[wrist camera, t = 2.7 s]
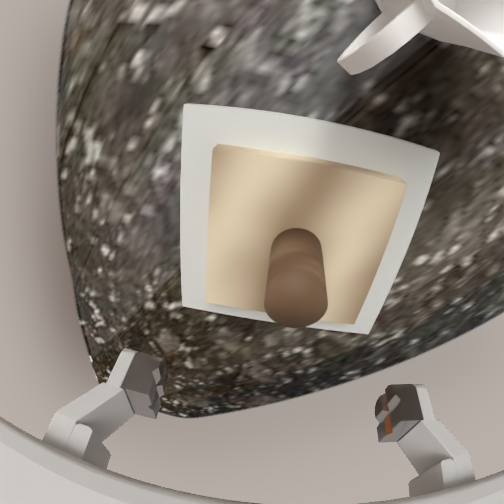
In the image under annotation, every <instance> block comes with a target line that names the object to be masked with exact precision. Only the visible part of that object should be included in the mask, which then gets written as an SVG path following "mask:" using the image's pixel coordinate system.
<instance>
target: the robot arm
mask: <svg viewBox="0 0 504 504" xmlns="http://www.w3.org/2000/svg"><path fill="white" fill-rule="evenodd" d="M165 365H166V362H165V358H161V357H157V356H153V355H149V354H145V353H141V352H138V351H134V350H130V349H126V348H124V349H123V351H122V352H121V353H120V355H119V358H118V360H117V362H116V364H115V366H114V368H113V370H112V372H111V374H110V376H109V379H108V381H107V383H101V384H99V385H98V386H96V387H95V388H93V389H92V390H90V391H88V392H87V393H85V394H84V395H82V396H81V397H79V398H77V399H76V400H74V401H72V402H71V403H69V404H68V405H66V406H64V407H63V408H61V409H60V410H58V411H56V413H55V415H54V417H53V419H52V421H51V423H50V425H49V427H48V429H47V431H46V433H45V436H44V438H43V440H40V439H38V438H36V437H34V436H32V435H30V434H29V433H26V432H25V431H23V430H22V429H20V428H18V427H16V426H15V425H13V424H11V423H10V422H8V421H6V420H5V419H3V418H2V417H0V504H259V503H249V502H240V501H232V500H225V499H218V498H212V497H206V496H201V495H196V494H191V493H186V492H182V491H177V490H173V489H169V488H165V487H161V486H157V485H154V484H150V483H146V482H143V481H140V480H136V479H133V478H130V477H127V476H124V475H121V474H118V473H115V472H112V471H109V470H107V465H108V462H109V459H110V456H111V455H110V453H109V451H108V450H107V449H106V447H105V446H104V445H103V444H102V441H104V440H105V439H106V438H107V437H108V436H110V435H111V434H112V433H113V432H115V431H116V430H117V429H118V428H119V427H121V426H122V425H123V424H124V423H125V422H127V421H128V420H129V419H130V418H131V417H132V416H133V415H134V414H138V415H142V416H145V417H149V418H154V419H156V418H157V414H158V411H159V408H160V405H161V403H160V399H159V397H161V396H162V395H164V393H165V390H166V386H167V379H168V374H167V371H166V370H165V369H164V368H165ZM385 392H386V393H385V394H383V395H381V396H380V397H379V398H378V400H377V402H376V406H375V416H376V419H377V420H378V421H379V422H380V424H379V425H378V427H377V432H378V439H379V442H397V443H398V444H399V446H400V447H401V449H402V450H403V452H404V453H405V454H406V456H407V458H408V459H409V460H410V462H411V464H412V465H413V466H414V468H415V469H416V471H417V472H418V474H419V476H418V477H416V478H414V479H413V480H411V481H410V482H409V493H410V497H407V498H401V499H394V500H387V501H380V502H371V503H361V504H504V470H503V471H501V472H498V473H495V474H493V475H490V476H487V477H484V478H481V479H479V480H475V475H474V470H473V465H472V461H471V456H470V453H469V452H468V451H467V450H466V449H465V448H464V447H463V445H462V444H461V443H460V442H459V441H458V440H457V439H456V438H455V437H454V436H453V435H452V434H451V432H450V431H449V430H448V429H447V428H446V427H445V426H444V425H443V424H442V423H441V422H440V421H439V420H438V419H435V417H434V414H433V409H432V406H431V402H430V398H429V395H428V391H427V388H426V386H425V385H424V384H414V385H412V384H401V385H389V386H388V387H387V388H386V389H385Z"/></svg>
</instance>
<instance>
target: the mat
mask: <svg viewBox="0 0 504 504" xmlns="http://www.w3.org/2000/svg"><path fill="white" fill-rule="evenodd" d="M217 144H225V145H234V146H242V147H249V148H257V149H264V150H271V151H277V152H284V153H290V154H296V155H301V156H307V157H313V158H318V159H323V160H328V161H333V162H338V163H343V164H348V165H353V166H357V167H362V168H366V169H370V170H375V171H379V172H383V173H387V174H391V175H395V176H399V177H401V178H402V179H403V180H404V181H405V182H406V183H407V188H406V192H405V195H404V198H403V201H402V204H401V207H400V210H399V213H398V216H397V219H396V222H395V225H394V228H393V231H392V233H391V236H390V239H389V242H388V244H387V247H386V250H385V252H384V255H383V258H382V260H381V263H380V265H379V268H378V270H377V273H376V275H375V278H374V280H373V283H372V285H371V288H370V290H369V292H368V295H367V297H366V299H365V302H364V304H363V306H362V308H361V311H360V313H359V315H358V317H357V320H356V322H355V324H354V325H353V324H345V323H337V322H329V321H321V320H319V321H317V322H316V323H314V324H312V325H309V326H306V327H311V328H318V329H326V330H334V331H343V332H351V333H361V334H369V332H370V330H371V328H372V326H373V324H374V322H375V320H376V318H377V316H378V314H379V312H380V310H381V308H382V306H383V304H384V301H385V299H386V297H387V295H388V293H389V291H390V289H391V286H392V284H393V282H394V280H395V277H396V275H397V273H398V271H399V268H400V266H401V264H402V261H403V259H404V256H405V254H406V252H407V249H408V247H409V244H410V242H411V239H412V236H413V234H414V231H415V229H416V226H417V223H418V220H419V218H420V215H421V212H422V209H423V206H424V204H425V201H426V198H427V195H428V192H429V189H430V185H431V182H432V179H433V176H434V173H435V169H436V166H437V162H438V159H439V155H440V152H438V151H437V150H434V149H431V148H428V147H425V146H422V145H419V144H415V143H412V142H409V141H405V140H402V139H398V138H395V137H391V136H388V135H384V134H380V133H376V132H373V131H369V130H365V129H360V128H356V127H352V126H347V125H343V124H338V123H334V122H329V121H324V120H319V119H313V118H308V117H302V116H296V115H290V114H284V113H277V112H270V111H263V110H255V109H247V108H238V107H228V106H216V105H203V104H184V110H183V127H182V150H181V187H180V249H181V286H182V306H184V307H189V308H194V309H199V310H205V311H210V312H216V313H221V314H227V315H232V316H238V317H244V318H250V319H256V320H263V321H269V322H275V321H273V320H272V319H271V318H270V317H269V316H268V315H267V313H266V312H260V311H254V310H248V309H242V308H236V307H230V306H224V305H219V304H213V303H208V302H205V295H206V261H207V235H208V214H209V196H210V179H211V164H212V150H213V148H214V147H215V146H216V145H217ZM275 323H276V322H275Z"/></svg>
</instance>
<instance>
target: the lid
mask: <svg viewBox="0 0 504 504" xmlns="http://www.w3.org/2000/svg"><path fill="white" fill-rule="evenodd" d="M406 188H407V183H406V182H405V181H404V180H403V179H402V178H401V177H399V176H395V175H391V174H387V173H383V172H379V171H375V170H370V169H366V168H362V167H357V166H353V165H348V164H343V163H338V162H333V161H328V160H323V159H318V158H313V157H307V156H301V155H296V154H290V153H284V152H277V151H271V150H264V149H257V148H249V147H242V146H234V145H225V144H217V145H216V146H215V147H214V148H213V150H212V164H211V179H210V196H209V214H208V235H207V261H206V295H205V302H208V303H213V304H219V305H224V306H230V307H236V308H242V309H248V310H254V311H260V312H266V313H267V315H268V316H269V317H270V318H271V319H272V320H273V321H275V322H276V323H278V324H280V325H283V326H286V327H292V328H299V327H306V326H309V325H312V324H314V323H316V322H317V321H319V320H321V321H329V322H337V323H345V324H353V325H354V324H355V322H356V320H357V317H358V315H359V313H360V311H361V308H362V306H363V304H364V302H365V299H366V297H367V295H368V292H369V290H370V288H371V285H372V283H373V280H374V278H375V275H376V273H377V270H378V268H379V265H380V263H381V260H382V258H383V255H384V252H385V250H386V247H387V244H388V242H389V239H390V236H391V233H392V231H393V228H394V225H395V222H396V219H397V216H398V213H399V210H400V207H401V204H402V201H403V198H404V195H405V192H406Z"/></svg>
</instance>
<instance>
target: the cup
mask: <svg viewBox="0 0 504 504" xmlns="http://www.w3.org/2000/svg"><path fill="white" fill-rule="evenodd" d="M375 2H376V4H377V5H378V7H379V9H380V11H381V12H382V13H381V14H380V15H379V16H378V17H377V18H376V19H375V20H374V21H373V22H372V23H371V24H370V25H369V26H368V27H367V28H366V29H365V30H364V31H363V32H362V33H361V34H360V35H359V36H358V37H357V38H356V39H355V40H354V41H353V42H352V43H351V44H350V45H349V46H348V48H347V49H346V50H345V51H344V52H343V53H342V55H341V56H340V57H339V58H338V61H337V63H339V64H340V65H341V66H342V67H343V68H344V69H345V70H346V71H347V72H348V73H349V74H350V75H354V74H358V73H361V72H363V71H365V70H367V69H370V68H372V67H373V66H375V65H376V64H378V63H379V62H381V61H382V60H384V59H385V58H387V57H388V56H390V55H391V54H393V53H394V52H395V51H397V50H398V49H399V48H400V47H402V46H403V45H404V44H406V43H407V42H408V41H409V40H410V39H412V38H413V37H414V36H415V35H416V34H418V33H421V34H423V35H426V36H428V37H431V38H433V39H436V40H438V41H441V42H446V43H451V44H456V45H461V46H466V47H470V48H473V49H477V50H480V51H483V52H487V53H490V54H494V55H497V56H500V57H504V0H375Z"/></svg>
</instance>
